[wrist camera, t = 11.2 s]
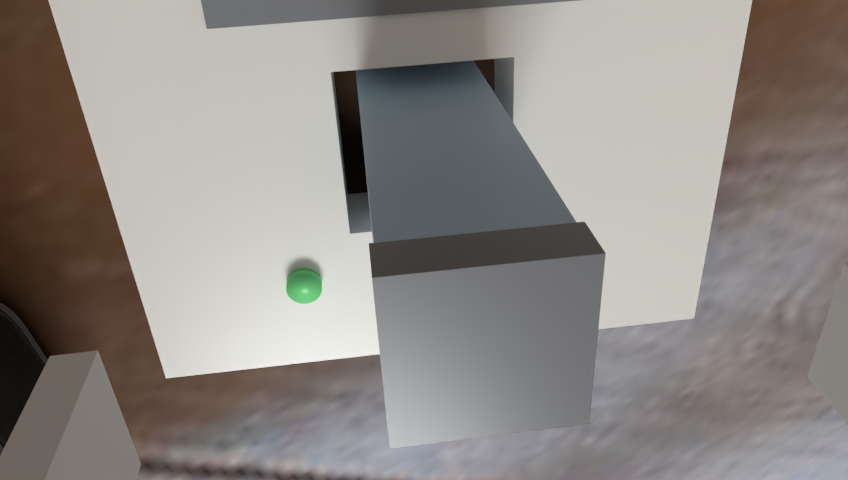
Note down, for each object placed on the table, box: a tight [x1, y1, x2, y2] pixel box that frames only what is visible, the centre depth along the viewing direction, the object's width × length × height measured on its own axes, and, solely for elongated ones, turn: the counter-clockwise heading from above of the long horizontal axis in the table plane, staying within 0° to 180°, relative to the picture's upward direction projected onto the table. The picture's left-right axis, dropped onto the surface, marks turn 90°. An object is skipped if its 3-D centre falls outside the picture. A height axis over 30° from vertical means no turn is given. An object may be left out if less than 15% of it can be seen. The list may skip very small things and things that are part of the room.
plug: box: [355, 60, 606, 448], centre depth 19 cm, size 4×4×13 cm
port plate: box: [48, 0, 752, 378], centre depth 23 cm, size 16×20×3 cm
